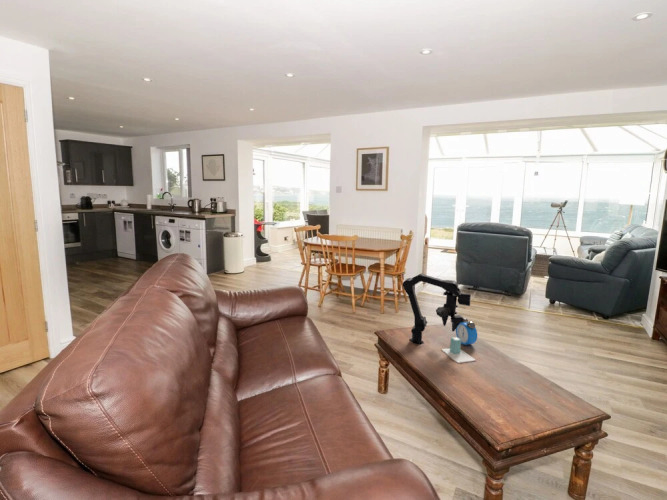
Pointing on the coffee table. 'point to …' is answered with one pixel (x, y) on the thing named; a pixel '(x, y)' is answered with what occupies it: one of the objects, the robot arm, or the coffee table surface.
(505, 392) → the coffee table surface
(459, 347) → the block
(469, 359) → the mat
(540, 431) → the coffee table surface
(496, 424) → the coffee table surface
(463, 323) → the alarm clock
